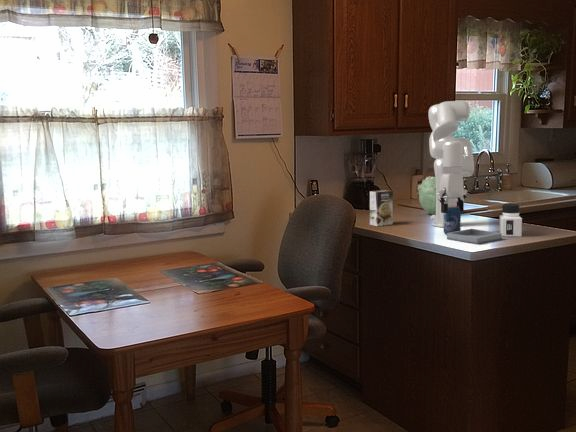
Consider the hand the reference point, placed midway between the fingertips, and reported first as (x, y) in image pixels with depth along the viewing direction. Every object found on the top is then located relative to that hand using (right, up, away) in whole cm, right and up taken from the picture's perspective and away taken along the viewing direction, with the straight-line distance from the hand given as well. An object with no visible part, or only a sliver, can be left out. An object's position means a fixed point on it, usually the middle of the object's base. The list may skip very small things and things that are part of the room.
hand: (452, 212), depth 257 cm
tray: (+6, -11, -9) cm, 16 cm away
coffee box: (-25, -6, +33) cm, 42 cm away
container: (+23, -10, -3) cm, 25 cm away
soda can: (0, -10, +2) cm, 10 cm away
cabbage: (+7, -1, +57) cm, 58 cm away
